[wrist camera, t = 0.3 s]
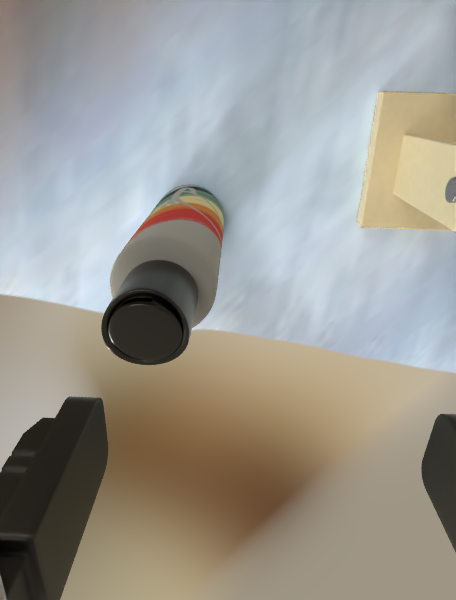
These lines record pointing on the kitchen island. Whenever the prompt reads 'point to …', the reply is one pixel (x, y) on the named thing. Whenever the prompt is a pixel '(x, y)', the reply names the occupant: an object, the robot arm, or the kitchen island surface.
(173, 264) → the lotion bottle
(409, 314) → the kitchen island surface
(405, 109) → the bracket
